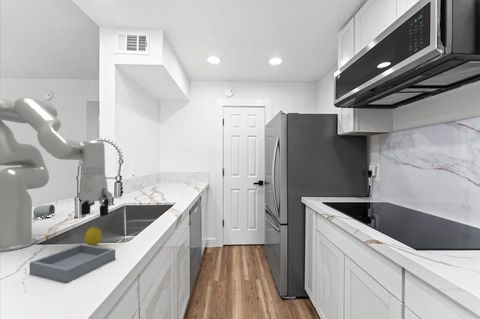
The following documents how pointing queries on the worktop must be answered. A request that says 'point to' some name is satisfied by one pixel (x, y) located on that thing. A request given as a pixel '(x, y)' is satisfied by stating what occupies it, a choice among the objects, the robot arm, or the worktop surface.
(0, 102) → the robot arm
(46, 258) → the tray
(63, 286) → the worktop surface
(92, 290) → the worktop surface
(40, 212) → the ceramic mug
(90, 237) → the lemon
